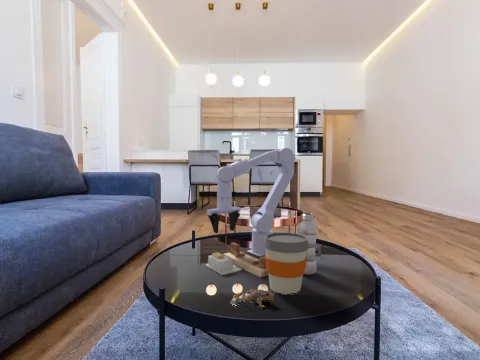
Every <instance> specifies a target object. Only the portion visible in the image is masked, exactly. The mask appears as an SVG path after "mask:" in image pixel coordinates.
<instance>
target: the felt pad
mask: <svg viewBox="0 0 480 360" xmlns="http://www.w3.org/2000/svg"><path fill="white" fill-rule="evenodd" d="M205 266H206V268H207V267H208V268H209V269H210V270H213V271H214V272H216V273H218V274H220V275H221V276H225V275H228V274H233V273H236V272H237V273H238V272H240V271H243V269H242V268H240V267H238V266H236V265H234V264H233V270H229V271H225V272H221V273H220V272H218V271H216V270H215V269H213V268H211V267H210V266H208V263H205Z"/></svg>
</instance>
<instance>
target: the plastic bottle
mask: <svg viewBox="0 0 480 360" xmlns="http://www.w3.org/2000/svg"><path fill="white" fill-rule="evenodd" d="M301 220H302V221H301V222H300V224H299V226H298V227H297V234H300V235H303V236H305V237H307V240H308V250H307V252H306V257H307V261H306V268H305V274H304V275H307V276H308V275H309V276H311V275H314V274H315V273H316V272H317V268H318V266H317V260H316V259H317V258H316V245H317V244H316V243H317V242H316V241H317V237H318V228H317V225H316V224H315V223H314V213H312V212H303V213H302V216H301Z"/></svg>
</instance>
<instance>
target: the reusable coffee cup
mask: <svg viewBox="0 0 480 360" xmlns="http://www.w3.org/2000/svg"><path fill="white" fill-rule="evenodd" d="M265 248H266V255H264V257H265V258H266V268H267V272H268V273H269V275H268V282H269V290H271V292H274V293H276V292H277V294H279V293H281V295H287V294H290V293H296V292H298V291H300V292H301V290H302V284H303V276H304V275H305V268H306V261H307V257H306V252H307V250H308V240H307V237H305V236H303V235H300V234H298V233H294V232H283V231H282V232H274V233H271V234H268V235H266V237H265ZM300 289H301V290H300ZM298 293H299V292H298ZM296 294H297V293H296ZM290 295H291V294H290Z"/></svg>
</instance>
